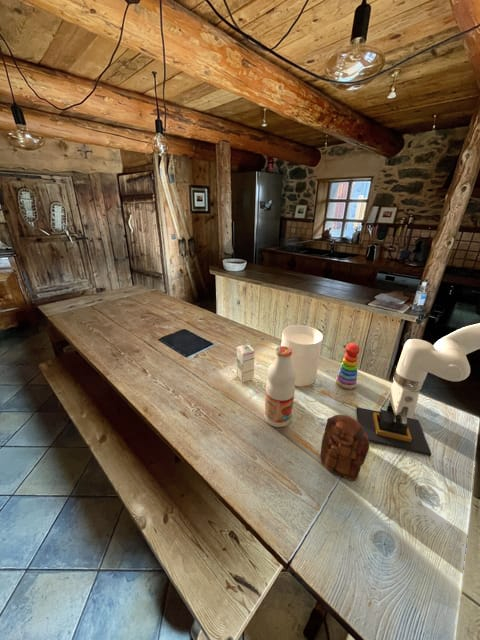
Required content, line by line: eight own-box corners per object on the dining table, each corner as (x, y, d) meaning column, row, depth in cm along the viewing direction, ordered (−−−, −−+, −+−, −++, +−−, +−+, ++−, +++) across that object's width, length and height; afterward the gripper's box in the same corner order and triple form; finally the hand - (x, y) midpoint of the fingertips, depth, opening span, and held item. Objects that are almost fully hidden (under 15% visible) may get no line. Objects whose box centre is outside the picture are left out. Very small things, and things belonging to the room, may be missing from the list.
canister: (292, 390, 106) (298, 348, 97) (271, 368, 119) (274, 329, 110) (324, 380, 112) (331, 339, 103) (300, 360, 125) (306, 322, 116)
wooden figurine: (314, 464, 78) (323, 418, 70) (321, 448, 82) (330, 404, 75) (356, 486, 72) (372, 440, 64) (361, 468, 77) (376, 422, 69)
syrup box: (254, 379, 112) (255, 350, 106) (242, 383, 110) (242, 353, 103) (248, 371, 117) (249, 343, 110) (236, 375, 114) (236, 346, 108)
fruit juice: (267, 404, 99) (272, 339, 87) (292, 411, 96) (301, 345, 84) (260, 423, 91) (265, 354, 79) (288, 431, 88) (297, 361, 76)
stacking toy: (357, 381, 112) (367, 343, 103) (353, 392, 106) (363, 352, 97) (338, 375, 115) (346, 337, 107) (333, 385, 109) (341, 346, 101)
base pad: (417, 421, 92) (419, 416, 91) (430, 456, 80) (433, 450, 79) (356, 408, 98) (357, 403, 97) (359, 439, 86) (361, 433, 84)
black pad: (401, 419, 89) (404, 413, 88) (405, 432, 84) (408, 426, 83) (379, 414, 91) (380, 409, 90) (381, 427, 86) (383, 421, 85)
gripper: (432, 400, 71) (411, 447, 79) (414, 364, 86) (399, 407, 94) (401, 394, 73) (384, 440, 81) (389, 360, 88) (376, 402, 96)
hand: (392, 422), depth 87 cm, fingers closed on black pad, 5 cm apart
